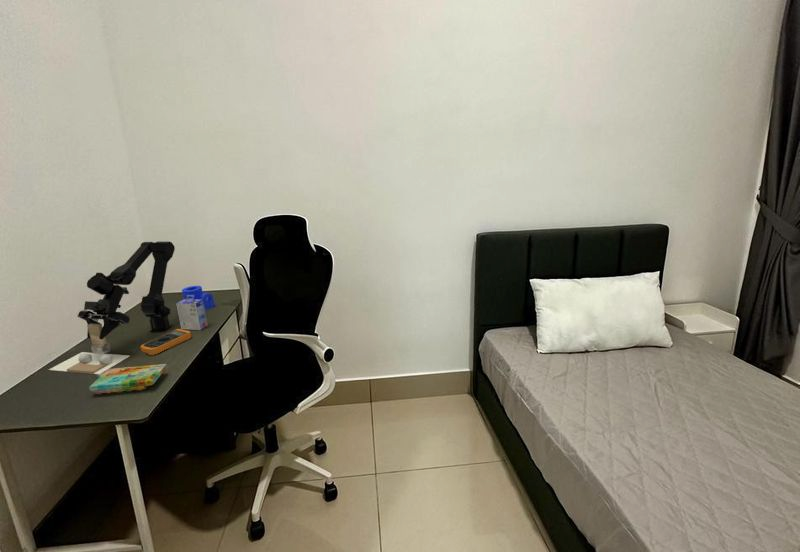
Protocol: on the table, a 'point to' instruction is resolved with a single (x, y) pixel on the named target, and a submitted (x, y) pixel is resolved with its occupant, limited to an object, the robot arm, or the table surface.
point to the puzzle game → (127, 379)
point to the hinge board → (90, 363)
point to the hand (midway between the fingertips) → (94, 338)
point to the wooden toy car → (97, 339)
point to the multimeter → (165, 341)
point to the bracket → (199, 296)
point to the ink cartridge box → (192, 313)
